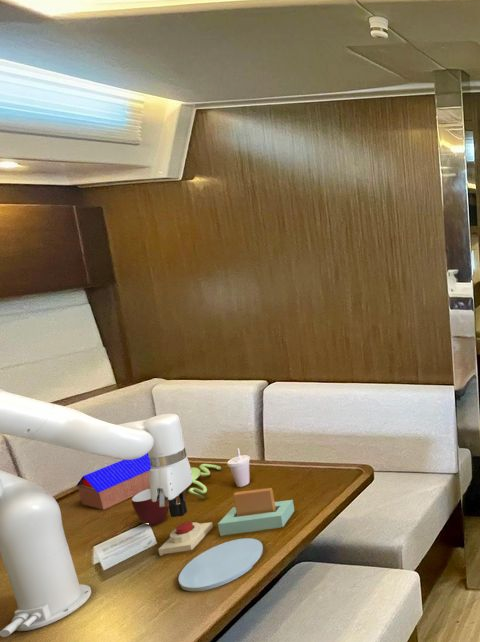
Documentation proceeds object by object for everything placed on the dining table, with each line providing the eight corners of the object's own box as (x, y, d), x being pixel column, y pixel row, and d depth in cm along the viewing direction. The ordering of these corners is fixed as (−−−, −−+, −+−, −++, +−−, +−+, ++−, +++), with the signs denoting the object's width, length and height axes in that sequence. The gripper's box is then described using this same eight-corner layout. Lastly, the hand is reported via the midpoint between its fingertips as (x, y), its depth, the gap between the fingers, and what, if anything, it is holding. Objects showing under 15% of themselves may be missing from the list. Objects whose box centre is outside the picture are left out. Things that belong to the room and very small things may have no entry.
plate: (242, 584, 118) (241, 580, 118) (161, 597, 114) (160, 593, 114) (275, 537, 135) (274, 533, 135) (206, 547, 131) (205, 543, 131)
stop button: (188, 534, 132) (187, 528, 131) (173, 536, 131) (172, 530, 131) (196, 525, 135) (195, 520, 135) (182, 527, 134) (181, 522, 134)
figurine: (128, 520, 143) (124, 505, 142) (162, 478, 167) (159, 464, 166) (202, 503, 151) (199, 489, 150) (224, 465, 175) (222, 452, 174)
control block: (192, 551, 130) (189, 539, 129) (159, 555, 128) (156, 543, 127) (213, 528, 139) (210, 516, 139) (183, 532, 138) (180, 520, 137)
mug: (123, 529, 139) (116, 500, 137) (151, 512, 147) (145, 485, 145) (154, 531, 138) (147, 502, 136) (180, 514, 146) (174, 486, 144)
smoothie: (244, 489, 159) (238, 453, 157) (227, 489, 159) (219, 453, 157) (258, 478, 166) (252, 443, 163) (241, 478, 166) (234, 444, 163)
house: (80, 504, 152) (71, 473, 150) (152, 472, 171) (145, 444, 168) (102, 510, 149) (94, 478, 146) (174, 477, 167) (167, 448, 165)
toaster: (283, 528, 139) (281, 515, 138) (220, 537, 136) (217, 523, 135) (294, 511, 147) (292, 499, 146) (235, 519, 143) (232, 507, 142)
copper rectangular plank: (275, 521, 141) (269, 490, 139) (239, 526, 139) (233, 495, 137) (277, 518, 143) (272, 487, 141) (241, 523, 141) (235, 492, 139)
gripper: (171, 446, 135) (181, 501, 138) (131, 472, 120) (144, 533, 124) (200, 443, 136) (209, 498, 139) (164, 469, 122) (176, 529, 125)
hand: (179, 514), depth 131 cm, fingers closed
